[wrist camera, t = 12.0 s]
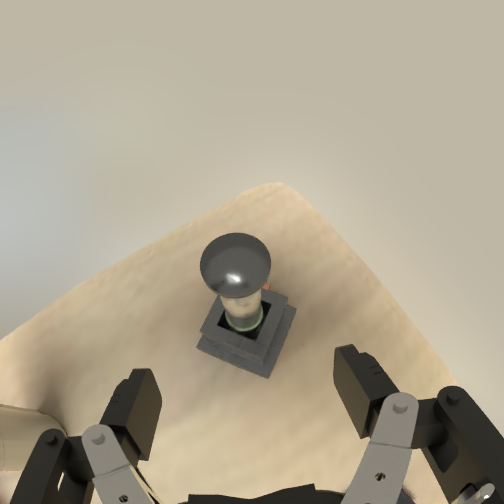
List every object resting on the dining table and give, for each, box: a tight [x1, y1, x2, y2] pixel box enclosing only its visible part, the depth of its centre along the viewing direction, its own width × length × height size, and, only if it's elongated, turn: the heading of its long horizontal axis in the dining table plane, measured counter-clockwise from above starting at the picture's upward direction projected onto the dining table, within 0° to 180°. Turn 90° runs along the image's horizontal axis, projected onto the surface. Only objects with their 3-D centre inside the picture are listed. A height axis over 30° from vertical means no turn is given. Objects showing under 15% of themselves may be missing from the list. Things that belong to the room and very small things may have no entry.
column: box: [200, 233, 271, 333], centre depth 25 cm, size 5×5×13 cm
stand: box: [196, 283, 296, 379], centre depth 33 cm, size 10×10×7 cm
